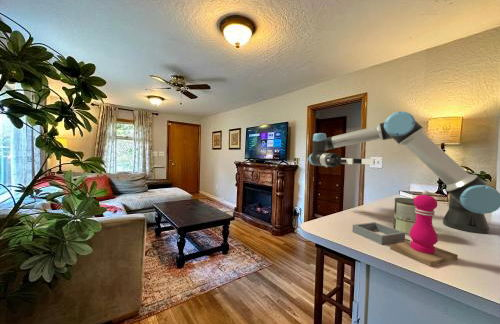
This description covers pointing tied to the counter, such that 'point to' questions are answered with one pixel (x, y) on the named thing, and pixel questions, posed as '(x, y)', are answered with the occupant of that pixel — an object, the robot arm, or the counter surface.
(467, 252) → the counter surface
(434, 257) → the board
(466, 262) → the counter surface
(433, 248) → the pepper mill
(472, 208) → the robot arm
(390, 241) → the holder
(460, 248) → the counter surface
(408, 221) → the coffee can
